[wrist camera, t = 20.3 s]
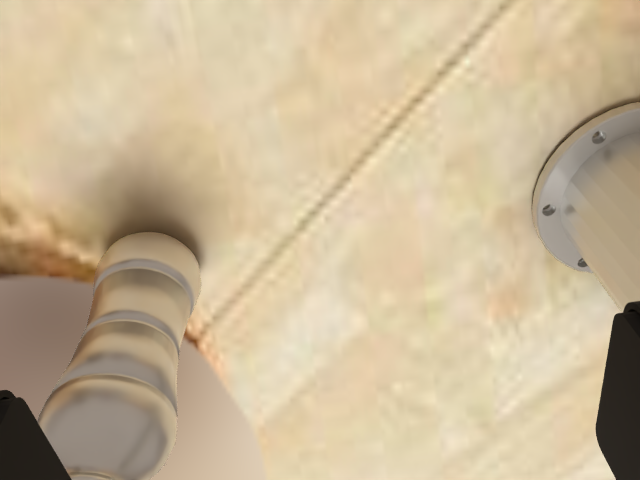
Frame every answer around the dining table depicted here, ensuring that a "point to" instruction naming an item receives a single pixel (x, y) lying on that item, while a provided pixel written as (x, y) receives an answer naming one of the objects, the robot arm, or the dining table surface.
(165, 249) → the plastic bottle
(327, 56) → the dining table surface
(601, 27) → the dining table surface
